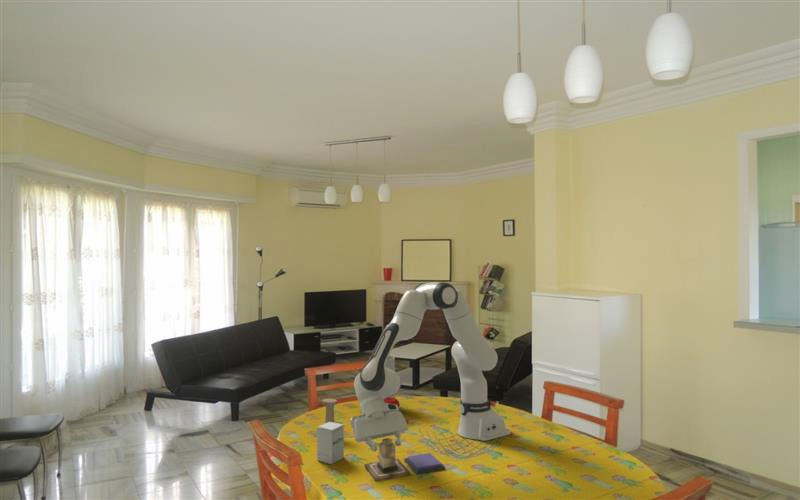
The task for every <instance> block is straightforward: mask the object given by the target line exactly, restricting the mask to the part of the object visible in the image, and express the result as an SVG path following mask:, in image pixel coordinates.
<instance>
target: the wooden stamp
mask: <svg viewBox="0 0 800 500" xmlns="http://www.w3.org/2000/svg"><path fill="white" fill-rule="evenodd" d="M378 444H379V445H378V455H379V457H378V458H379V461H378V462H379V463H377V467H378V468H379V469H380V470H381V471H382V472H383V473H385V472H391V471H396V470H398V466H397V465H396V461H395V459H396V444H395V443H393V439H392V438H389V437H388V438H387V437H384V438H382V439H381V442H379V443H378Z"/></svg>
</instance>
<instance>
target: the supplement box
mask: <svg viewBox="0 0 800 500" xmlns="http://www.w3.org/2000/svg"><path fill="white" fill-rule="evenodd" d="M344 429H345V428H344V424H343V423H339V422H338V423H337V422H335V423H333V422H328V423H325V422H324V424H321V425H319V426H317V427H316V460H317V461H319V462H321V463H326V464H329V465H333V464H334V463H336V462H339V460H341V459H344V458H345V454H344V453H345V451H344V450H345V449H344V448H345V447H344V446H345V445H344V444H345V443H344V441H345V440H344V439H345V434H344V432H345V430H344Z"/></svg>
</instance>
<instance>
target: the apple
mask: <svg viewBox="0 0 800 500" xmlns="http://www.w3.org/2000/svg"><path fill="white" fill-rule="evenodd" d="M383 402H385V403H390V404H396V405H398V407H399V409H398V411H400V401H399V400H398V399H397V398H396V397H395V398H392V397H389V398H384V399H383Z"/></svg>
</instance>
